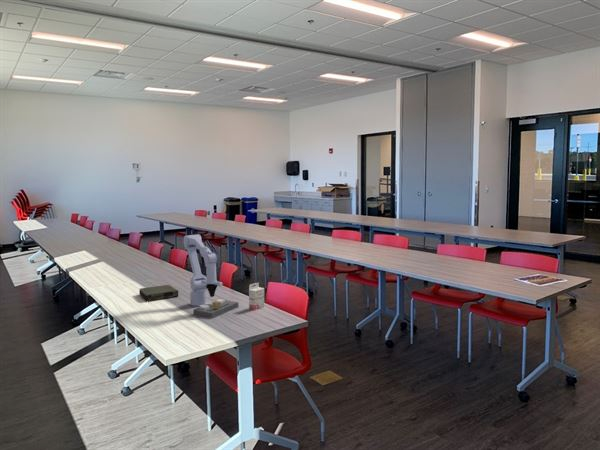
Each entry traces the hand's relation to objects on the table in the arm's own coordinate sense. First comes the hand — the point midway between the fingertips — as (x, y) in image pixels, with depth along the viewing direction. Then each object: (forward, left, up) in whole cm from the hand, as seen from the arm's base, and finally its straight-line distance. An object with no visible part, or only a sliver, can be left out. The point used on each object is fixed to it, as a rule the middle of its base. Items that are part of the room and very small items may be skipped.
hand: (212, 296), depth 267 cm
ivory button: (0, +7, -6) cm, 9 cm away
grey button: (0, -7, -6) cm, 9 cm away
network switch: (-55, +9, -9) cm, 56 cm away
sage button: (0, 0, -6) cm, 6 cm away
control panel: (+3, 0, -8) cm, 9 cm away
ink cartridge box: (+21, +16, -9) cm, 28 cm away
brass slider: (+7, -5, -5) cm, 10 cm away
